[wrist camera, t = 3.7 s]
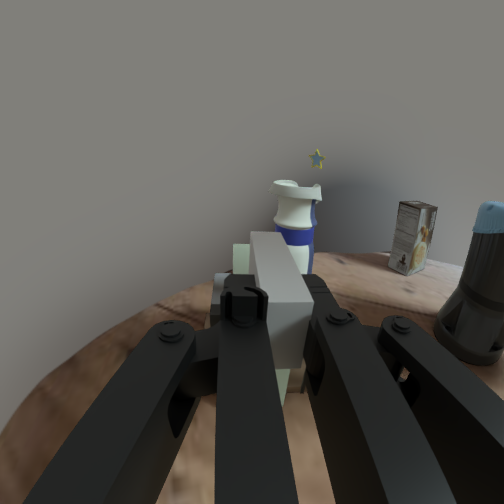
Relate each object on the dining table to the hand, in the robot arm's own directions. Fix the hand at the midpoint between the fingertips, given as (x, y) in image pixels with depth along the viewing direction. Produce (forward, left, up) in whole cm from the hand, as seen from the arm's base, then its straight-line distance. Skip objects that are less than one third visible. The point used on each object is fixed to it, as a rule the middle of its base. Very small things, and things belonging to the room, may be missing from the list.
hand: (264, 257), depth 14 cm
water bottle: (-25, -18, -20) cm, 37 cm away
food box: (-56, -5, -20) cm, 60 cm away
